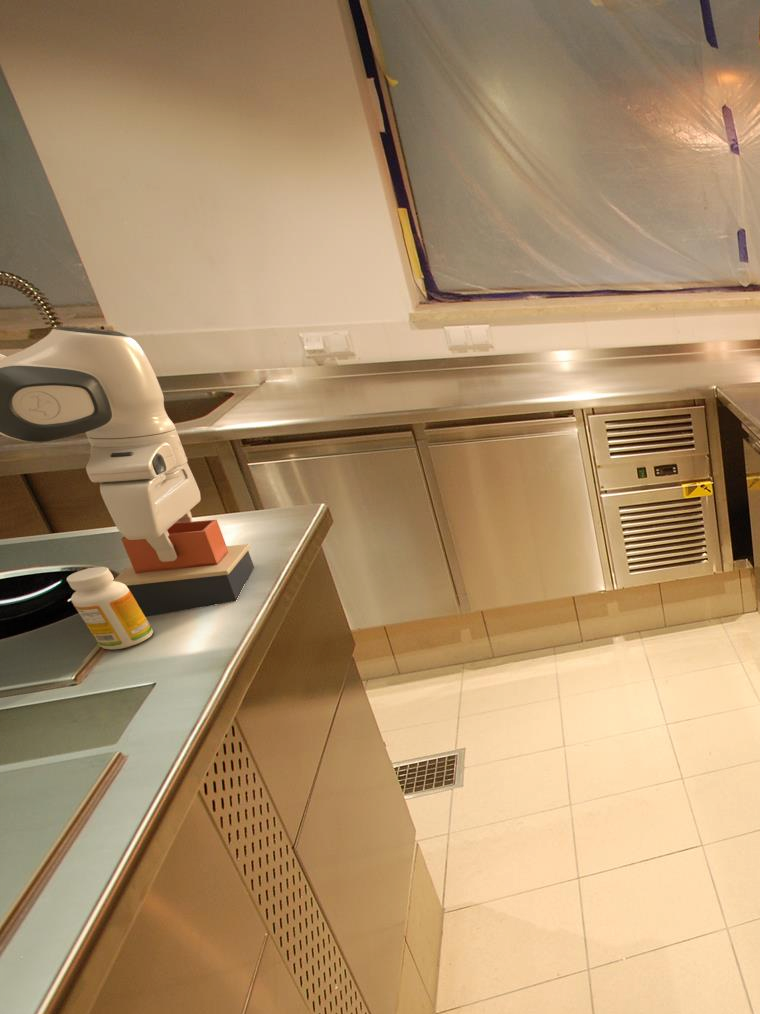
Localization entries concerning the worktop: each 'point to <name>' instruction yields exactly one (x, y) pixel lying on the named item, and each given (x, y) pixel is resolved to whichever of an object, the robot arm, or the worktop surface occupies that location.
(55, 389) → the robot arm
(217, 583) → the slate storage box
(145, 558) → the terracotta tub
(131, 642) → the supplement bottle
